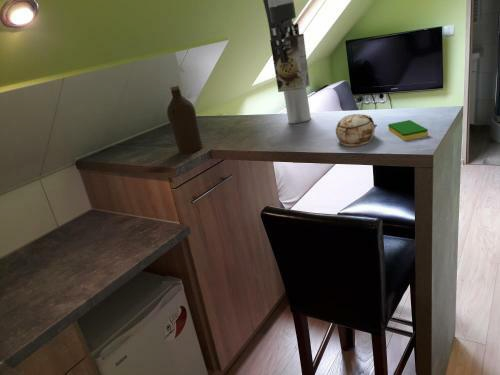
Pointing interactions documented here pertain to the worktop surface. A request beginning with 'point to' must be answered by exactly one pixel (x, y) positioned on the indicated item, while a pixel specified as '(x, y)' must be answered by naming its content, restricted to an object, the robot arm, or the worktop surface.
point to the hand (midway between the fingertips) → (290, 60)
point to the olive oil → (184, 123)
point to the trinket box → (355, 129)
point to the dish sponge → (408, 130)
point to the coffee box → (291, 65)
